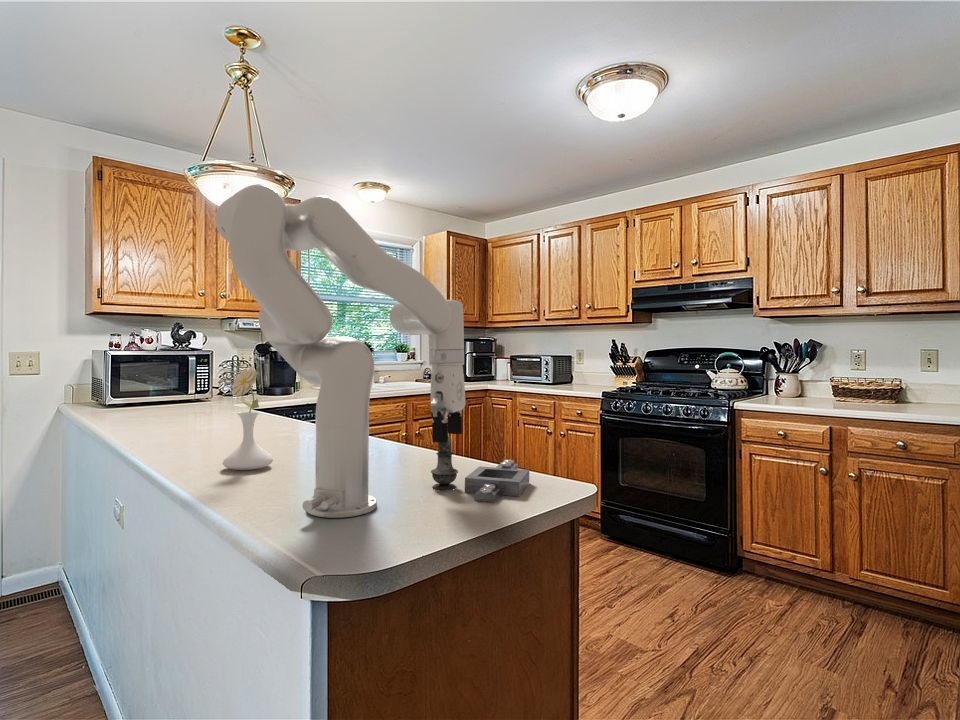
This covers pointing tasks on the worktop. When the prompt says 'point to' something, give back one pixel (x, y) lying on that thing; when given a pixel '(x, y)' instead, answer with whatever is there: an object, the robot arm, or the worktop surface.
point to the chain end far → (502, 470)
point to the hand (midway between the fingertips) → (447, 437)
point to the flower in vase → (247, 429)
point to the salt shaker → (444, 468)
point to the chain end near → (493, 491)
